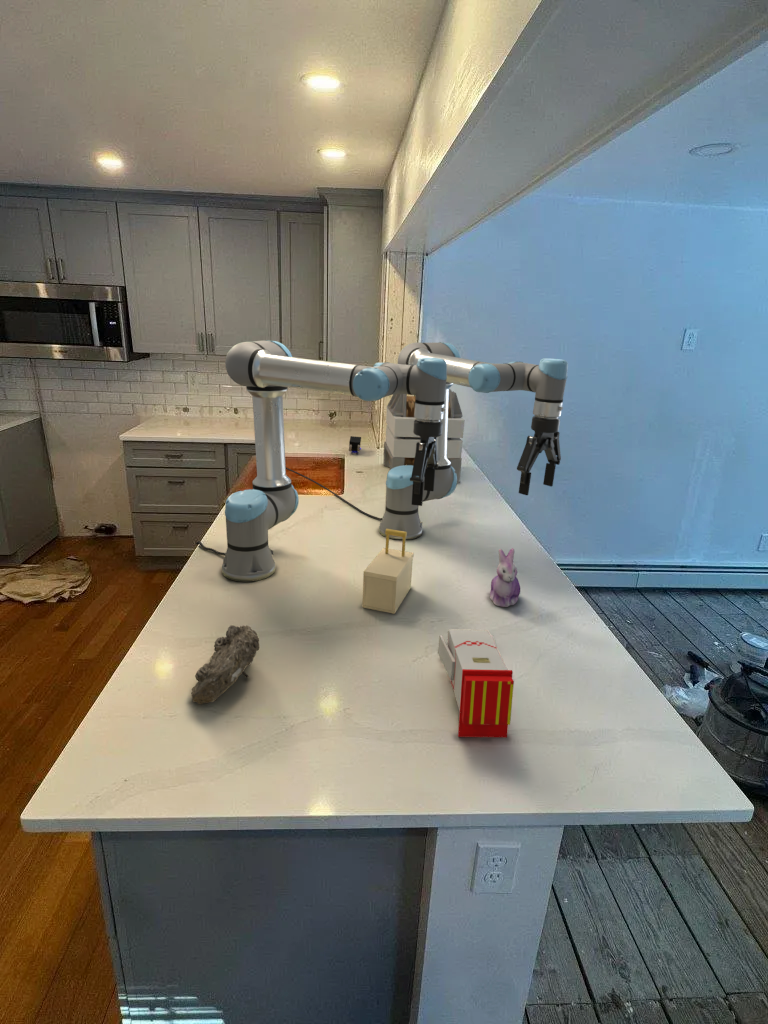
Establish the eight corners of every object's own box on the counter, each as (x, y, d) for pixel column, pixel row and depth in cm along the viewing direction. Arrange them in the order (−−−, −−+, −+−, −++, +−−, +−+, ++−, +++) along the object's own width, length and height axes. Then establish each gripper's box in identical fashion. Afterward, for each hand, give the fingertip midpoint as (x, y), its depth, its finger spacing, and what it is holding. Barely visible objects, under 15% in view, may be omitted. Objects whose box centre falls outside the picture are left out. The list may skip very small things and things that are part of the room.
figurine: (502, 611, 151) (509, 560, 146) (479, 594, 159) (485, 545, 154) (530, 604, 155) (537, 554, 150) (506, 588, 163) (512, 540, 158)
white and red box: (488, 613, 130) (523, 677, 101) (484, 667, 133) (517, 744, 104) (435, 612, 130) (455, 676, 101) (432, 666, 133) (451, 743, 103)
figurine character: (360, 458, 303) (361, 448, 316) (361, 444, 299) (361, 435, 313) (348, 457, 302) (349, 447, 316) (348, 444, 299) (349, 434, 312)
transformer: (382, 463, 289) (386, 382, 275) (445, 464, 293) (451, 384, 279) (390, 482, 257) (394, 392, 243) (460, 483, 261) (468, 394, 247)
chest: (380, 582, 164) (382, 552, 161) (410, 587, 162) (412, 557, 159) (362, 607, 150) (363, 575, 147) (394, 613, 147) (396, 581, 144)
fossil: (211, 627, 129) (258, 597, 124) (240, 656, 132) (287, 627, 127) (170, 698, 110) (224, 665, 105) (204, 729, 113) (259, 699, 108)
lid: (383, 551, 162) (384, 523, 159) (413, 556, 159) (415, 528, 156) (363, 575, 147) (364, 545, 144) (396, 581, 144) (398, 550, 141)
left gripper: (432, 429, 135) (425, 513, 142) (451, 413, 157) (445, 486, 164) (401, 426, 137) (397, 509, 144) (425, 411, 159) (420, 483, 166)
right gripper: (534, 423, 146) (524, 501, 153) (580, 414, 163) (568, 484, 170) (510, 419, 151) (500, 494, 158) (556, 410, 168) (546, 479, 175)
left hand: (423, 497), depth 154 cm, fingers open, 13 cm apart
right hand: (535, 489), depth 164 cm, fingers open, 13 cm apart
